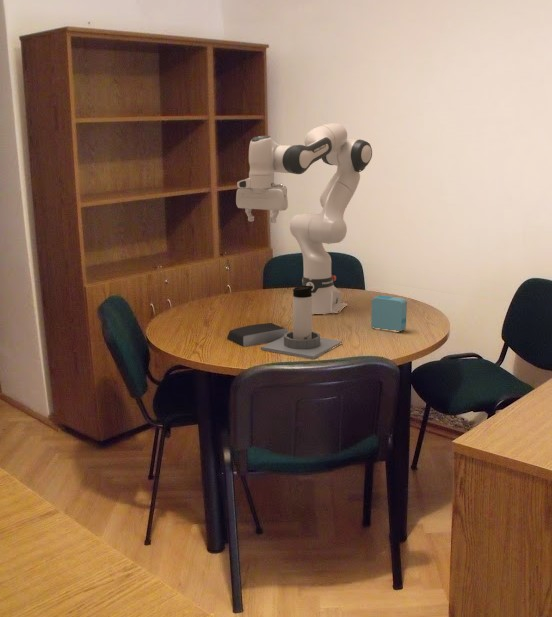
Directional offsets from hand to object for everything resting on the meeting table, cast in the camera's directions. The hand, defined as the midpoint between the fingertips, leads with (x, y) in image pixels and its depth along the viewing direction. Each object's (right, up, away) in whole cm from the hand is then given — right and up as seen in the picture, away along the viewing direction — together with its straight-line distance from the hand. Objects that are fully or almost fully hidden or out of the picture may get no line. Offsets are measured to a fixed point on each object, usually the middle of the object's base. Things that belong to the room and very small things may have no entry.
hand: (262, 222), depth 258 cm
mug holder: (+14, -44, -15) cm, 49 cm away
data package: (+46, -39, +5) cm, 61 cm away
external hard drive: (-1, -42, -5) cm, 43 cm away
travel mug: (+14, -43, -15) cm, 48 cm away
